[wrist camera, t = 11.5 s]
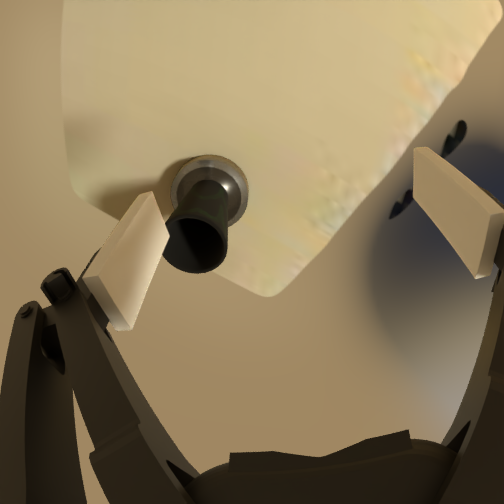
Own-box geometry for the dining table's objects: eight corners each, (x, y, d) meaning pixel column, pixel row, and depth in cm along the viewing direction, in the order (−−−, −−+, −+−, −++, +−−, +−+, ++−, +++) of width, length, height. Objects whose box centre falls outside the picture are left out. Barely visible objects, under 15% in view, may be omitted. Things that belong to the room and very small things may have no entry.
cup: (230, 225, 46) (221, 279, 36) (179, 216, 46) (157, 267, 36) (240, 177, 42) (232, 222, 32) (184, 168, 41) (159, 209, 31)
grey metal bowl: (165, 164, 44) (160, 171, 41) (239, 147, 42) (237, 153, 40) (187, 227, 50) (183, 237, 48) (255, 215, 48) (255, 224, 46)
